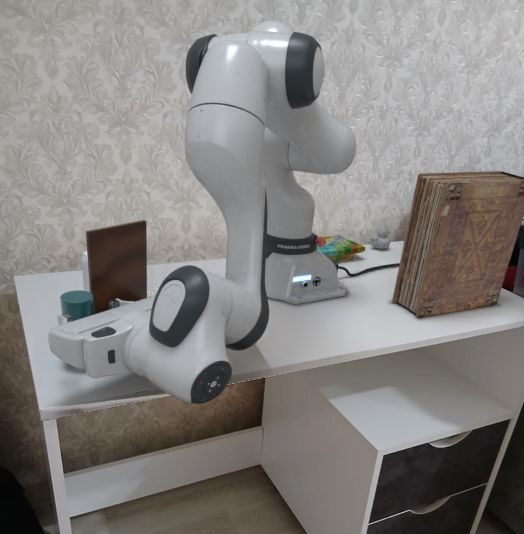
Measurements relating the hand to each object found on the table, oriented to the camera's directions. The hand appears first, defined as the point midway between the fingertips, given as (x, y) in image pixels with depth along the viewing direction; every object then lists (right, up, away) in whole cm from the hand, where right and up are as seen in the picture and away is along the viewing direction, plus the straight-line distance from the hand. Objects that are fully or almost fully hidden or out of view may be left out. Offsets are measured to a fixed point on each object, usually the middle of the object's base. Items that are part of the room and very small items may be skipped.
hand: (88, 310), depth 90 cm
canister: (-3, -9, +7) cm, 12 cm away
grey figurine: (+64, +24, +78) cm, 103 cm away
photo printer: (-5, +4, +31) cm, 32 cm away
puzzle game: (+46, +20, +67) cm, 83 cm away
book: (+73, +5, +43) cm, 85 cm away
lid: (+2, +9, +14) cm, 17 cm away
